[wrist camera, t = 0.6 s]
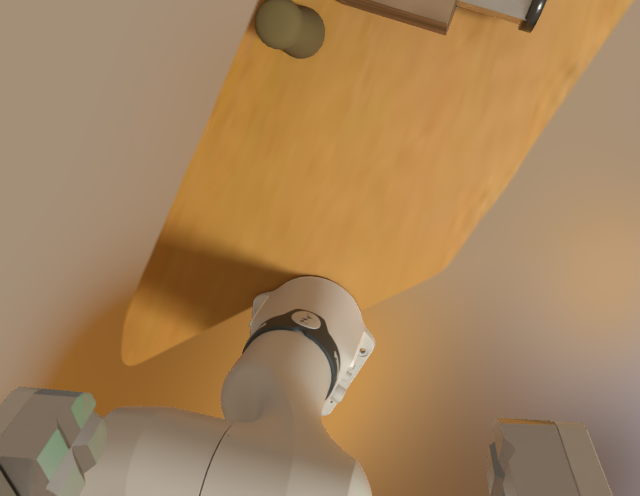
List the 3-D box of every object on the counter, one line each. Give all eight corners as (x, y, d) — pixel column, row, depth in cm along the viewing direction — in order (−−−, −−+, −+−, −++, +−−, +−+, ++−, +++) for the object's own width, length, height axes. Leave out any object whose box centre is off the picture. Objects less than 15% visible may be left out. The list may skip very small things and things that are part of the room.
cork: (274, 11, 63) (242, -5, 53) (321, 1, 61) (297, -17, 51) (282, 62, 65) (251, 56, 54) (328, 54, 63) (305, 47, 53)
